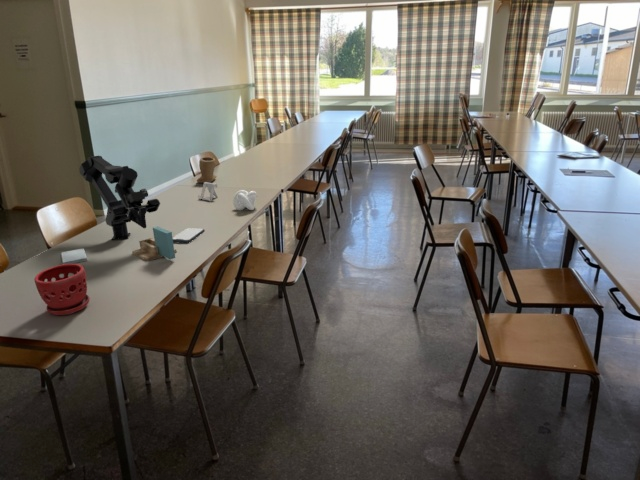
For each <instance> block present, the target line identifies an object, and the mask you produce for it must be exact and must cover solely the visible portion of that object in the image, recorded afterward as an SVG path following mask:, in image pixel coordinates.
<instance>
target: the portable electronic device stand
mask: <svg viewBox="0 0 640 480" xmlns="http://www.w3.org/2000/svg"><path fill="white" fill-rule="evenodd" d="M218 185H219V184H217V183H212V182H204V183H203V185H202V190H201V194H200V195H198V197H197V199H198V200H201V199H202V201H208V202H212V201H213V198H216V199H218V194H217V193H216V191H215V189H217V188H218ZM206 188H207V190H208V193H209V196H205V191H206ZM204 196H205V197H204Z"/></svg>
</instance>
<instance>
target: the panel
mask: <svg viewBox="0 0 640 480" xmlns="http://www.w3.org/2000/svg"><path fill="white" fill-rule="evenodd" d="M152 231H153V239H155V246H156V247H158V252H159V254H160V255H162V256H163V257H165V258H166V259H168V260H172V259H176V252H174V249H175V246H174V243H173V233H172V232H173V231H169V230H167V229H165V228H162V227H160V226H155V227H152Z"/></svg>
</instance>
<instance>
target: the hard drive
mask: <svg viewBox="0 0 640 480" xmlns="http://www.w3.org/2000/svg"><path fill="white" fill-rule="evenodd" d="M60 256H61V261H62V265H64V264H79V263H81V262H87V261H88V257H87V254H86V251H85V248H77V249H72V250H67V251H62V252H61V253H60Z"/></svg>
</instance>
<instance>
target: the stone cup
mask: <svg viewBox="0 0 640 480" xmlns="http://www.w3.org/2000/svg"><path fill="white" fill-rule="evenodd" d="M198 161H199V162H198V163H199V165H198V166H199V170H200V171H199V172H200V174H201V176H200V177H198V178H197V179H196V182H197V183H203V184H204V182H208V183H212V182H213V181H215V179H216V178H217V175H215V174H214V172H215V168H216V159H215V158H214V157H212V156H202V157H200V159H199V160H198Z"/></svg>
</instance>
